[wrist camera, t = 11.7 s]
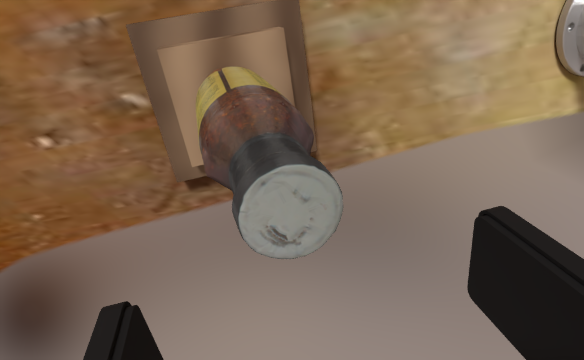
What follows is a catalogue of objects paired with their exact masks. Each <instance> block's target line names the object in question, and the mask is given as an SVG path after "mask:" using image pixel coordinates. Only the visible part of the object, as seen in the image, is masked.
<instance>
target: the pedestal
mask: <svg viewBox="0 0 584 360" xmlns="http://www.w3.org/2000/svg"><path fill="white" fill-rule="evenodd" d="M126 28H127V31H128V34H129V37H130V40H131V43H132V46H133V49H134V52H135V55H136V58H137V61H138V64H139V67H140V70H141V73H142V76H143V80H144V83H145V86H146V89H147V92H148V95H149V98H150V101H151V104H152V107H153V110H154V113H155V116H156V119H157V122H158V125H159V128H160V131H161V134H162V138H163V141H164V144H165V147H166V150H167V153H168V156H169V159H170V162H171V165H172V168H173V171H174V174H175V177H176V180H177V182H181V181H186V180H190V179H194V178H199V177H203V176H207V175H206V172H205V167H204V163H203V159H202V155H201V152H200V148H199V141H198V128H197V118H196V97H197V92H198V89H199V87H200V86H201V84H202V83H203V82H204V80H205V79H206V78H207V77H208V76H209V75H210V74H211V73H212V72H213V71H215V70H217V69H220V68H225V67H242V68H246V69H249V70H251V71H253V72H255V73H256V74H258V75H259V76H260V77H262V78H263V79H264V80H265V81H267V82H268V83H269V84H270V85H272V86H273V87H274V88H275V89H276V90H277V91H279V92H280V93H281V94H282V95H283V96H285V97H286V98H287V99H288V100H289V101H290V102H291V104H292V105H293V106H294V107H295V108H296V109H297V110H299V111H300V113H301V114H302V116H303V117H304V119H305V120H306V122H307V123H308V125H309V126H310V127H311V129H312V131H313V134H314V142H313V146H312V148H311V152H314V151H317V147H316V138H315V130H314V122H313V114H312V105H311V97H310V89H309V80H308V72H307V64H306V56H305V47H304V39H303V31H302V22H301V14H300V6H299V0H274V1H268V2H262V3H256V4H250V5H244V6H237V7H231V8H225V9H219V10H213V11H207V12H201V13H195V14H188V15H182V16H176V17H170V18H164V19H158V20H152V21H146V22H139V23H133V24H128V25H126Z"/></svg>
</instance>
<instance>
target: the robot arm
mask: <svg viewBox="0 0 584 360" xmlns="http://www.w3.org/2000/svg"><path fill="white" fill-rule="evenodd" d="M556 46H557V53H558V56H559V59H560V61H561V63H562V64H563V66H564V67H565V68H566V69H567V70H568V71H569V72H570V73H573V74H575V75H578V76H583V77H584V0H567V1H566V3H565V5H564V7H563V10H562V12H561V15H560V18H559V22H558V27H557V35H556ZM468 293H469V295H470V297H471V299H472V300H473V301H474V303H475V304H476V305H477V306H478V307H479V308H480V309H481V310H482V311H483V313H484V314H485V315H486V316H487V317H488V318H489V319H490V320H491V321H492V322H493V324H494V325H495V326H496V327H497V328H498V329H499V330H500V331H501V332H502V333H503V335H504V336H505V337H506V338H507V339H508V340H509V341H510V342H511V344H512V345H513V346H514V347H515V348H516V349H517V350H518V351H519V352H520V353H521V355H522V356H523V357H524V358H525V359H526V360H584V259H583V258H581V257H579V256H578V255H577V254H575V253H574V252H572V251H570V250H569V249H568V248H566V247H565V246H563V245H562V244H560V243H558V242H557V241H556V240H554V239H553V238H551V237H550V236H548V235H547V234H545V233H544V232H542V231H541V230H539V229H538V228H536V227H535V226H533V225H532V224H530V223H529V222H527V221H526V220H524V219H523V218H521V217H520V216H518V215H517V214H515V213H514V212H512V211H511V210H509V209H508V208H506V207H504V206H498V207H494V208H491V209H487V210H483V211H481V212H480V213H479V216H478V217H477V218H476V219H475V222H474V231H473V240H472V250H471V259H470V268H469V278H468ZM83 360H163V358H162V355H161V353H160V351H159V349H158V347H157V345H156V343H155V340H154V338H153V336H152V334H151V332H150V330H149V328H148V325H147V323H146V321H145V319H144V317H143V315H142V313H141V310H140V308H139V307H138V306H137V305H134V306H131V304H130V303H129V302H127V301H126V302H122V303H118V304H114V305H110V306H106V307H103V308H102V309H101V311H100V313H99V316H98V319H97V322H96V325H95V328H94V331H93V333H92V336H91V339H90V342H89V345H88V347H87V350H86V353H85V356H84V359H83Z"/></svg>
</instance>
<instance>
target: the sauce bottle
mask: <svg viewBox="0 0 584 360" xmlns="http://www.w3.org/2000/svg"><path fill="white" fill-rule="evenodd" d="M196 118H197V128H198V141H199V148H200V152H201V155H202V159H203V163H204V167H205V172H206V175H207V176H208V177H209V178H211V179H213V180H215V181H216V182H218V183H220V184H222V185H223V186H225V187H227V188H228V189H230V190H232V192H233V194H234V196H233V202H232V212H233V215H234V218H235V221H236V224H237V226H238V229H239V232H240V234H241V236H242V238H243V240H244V241H245V242H246V243H247V244H248V245H249V246H250V248H251V249H253V250H254V251H255V252H257V253H259V254H261V255H265V256H268V257H271V258H277V259H294V258H298V257H301V256H306V255H308V254H310V253H312V252H314V251H316V250H317V249H318V248H320V247H321V246H323V245H324V244H325V243H326V242H327V240H328V239H329V238H330V237H331V235H332V234H333V233H334V232H335V231H336V229H337V226H338V224H339V222H340V219H341V216H342V211H343V201H342V199H343V198H342V197H343V196H342V191H341V189H340V187H339V185H338V183H337V182H336V180H335V179H334V178H333V177H332V175H331V173H330V172H329V171H328V170H327V169H326V167H325V166H324V165H323V164H322V163H321V162H320V161H318V160H316V159H315V158H313V157H311V156H310V153H311V148H312V146H313V142H314V134H313V131H312V129H311V127H310V126H309V125H308V123H307V122H306V120H305V119H304V117H303V116H302V114H301V113H300V111H299V110H297V109H296V108H295V107H294V106H293V105H292V104H291V102H290V101H289V100H288V99H287V98H286V97H285V96H283V95H282V94H281V93H280V92H279V91H277V90H276V89H275V88H274V87H273V86H272V85H270V84H269V83H268V82H267V81H265V80H264V79H263V78H262V77H260V76H259V75H258V74H256V73H255V72H253V71H251V70H249V69H246V68H242V67H225V68H220V69H217V70H215V71H213V72H212V73H211V74H210V75H209V76H208V77H207V78H206V79H205V80H204V82H203V83H202V84H201V86H200V87H199V89H198V92H197V97H196Z"/></svg>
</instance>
